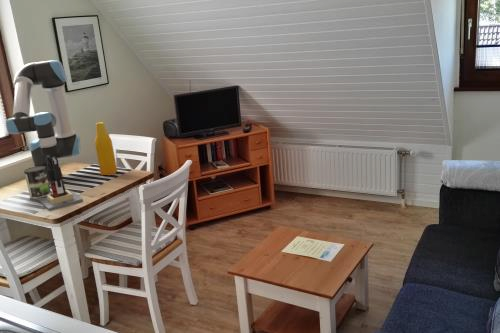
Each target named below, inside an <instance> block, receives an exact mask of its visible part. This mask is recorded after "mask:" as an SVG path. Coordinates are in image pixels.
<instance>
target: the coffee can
mask: <svg viewBox="0 0 500 333" xmlns="http://www.w3.org/2000/svg"><path fill="white" fill-rule="evenodd" d="M23 173H24V176H25V181H26V184H27V190H28V193H29V198H30V199H43V198H46V197H47V195H48V194H51V193H52V190H51V188H50V187H51V186H50V181H48V178H47V173H46V168H45V166H37V167H34V166H32V167H29V168H26V169H24V170H23Z"/></svg>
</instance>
